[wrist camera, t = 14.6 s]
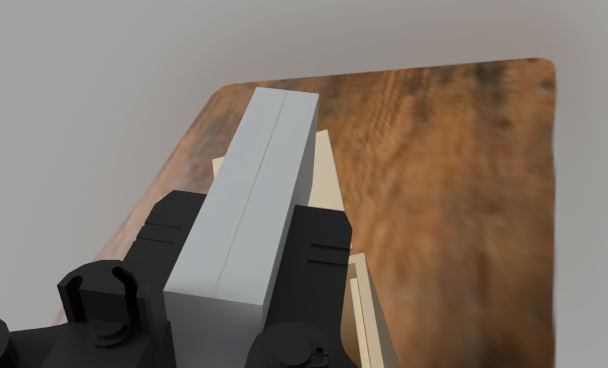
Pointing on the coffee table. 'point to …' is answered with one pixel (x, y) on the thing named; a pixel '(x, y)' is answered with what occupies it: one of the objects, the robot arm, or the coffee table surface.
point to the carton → (365, 320)
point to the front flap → (318, 176)
